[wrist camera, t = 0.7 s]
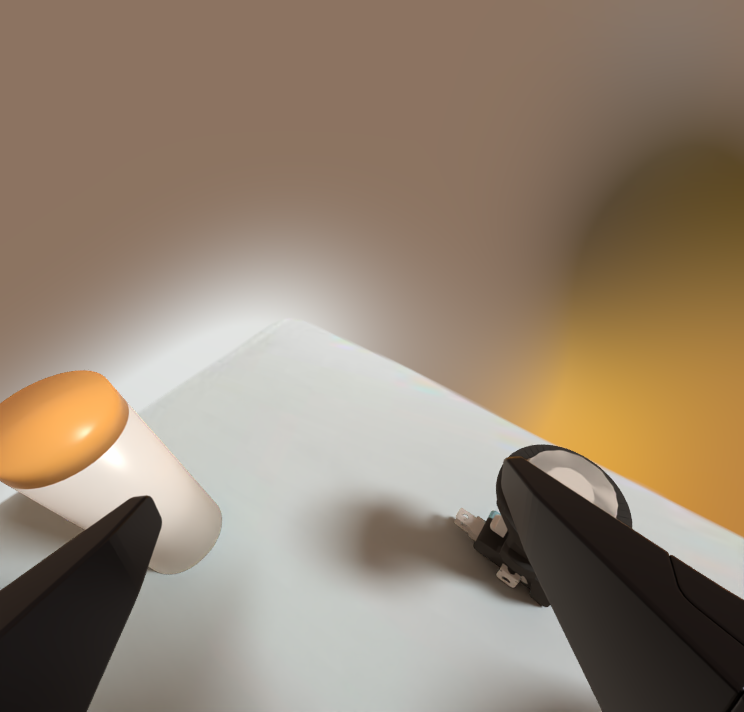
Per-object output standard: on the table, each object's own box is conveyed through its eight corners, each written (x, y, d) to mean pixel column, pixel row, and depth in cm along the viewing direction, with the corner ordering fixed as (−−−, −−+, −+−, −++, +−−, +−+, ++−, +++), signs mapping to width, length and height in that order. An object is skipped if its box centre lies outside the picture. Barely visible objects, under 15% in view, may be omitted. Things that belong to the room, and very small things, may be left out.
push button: (435, 554, 22) (451, 481, 15) (474, 489, 25) (503, 402, 18) (542, 639, 19) (626, 595, 12) (573, 552, 21) (656, 475, 14)
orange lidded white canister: (195, 582, 21) (36, 482, 12) (128, 564, 22) (-67, 457, 13) (235, 503, 25) (135, 377, 16) (175, 490, 26) (47, 364, 16)
